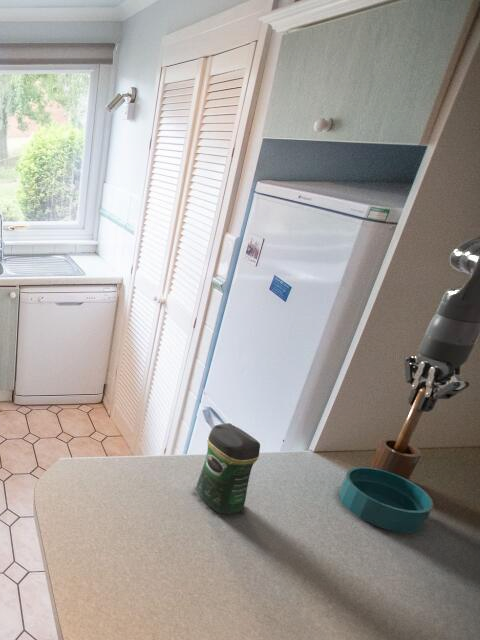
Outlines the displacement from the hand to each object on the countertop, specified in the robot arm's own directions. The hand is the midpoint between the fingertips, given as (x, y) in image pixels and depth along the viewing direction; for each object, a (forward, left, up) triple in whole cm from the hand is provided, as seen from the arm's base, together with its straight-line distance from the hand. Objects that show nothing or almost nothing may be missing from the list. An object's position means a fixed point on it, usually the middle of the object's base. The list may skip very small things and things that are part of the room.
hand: (418, 407), depth 102 cm
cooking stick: (0, 0, -19) cm, 19 cm away
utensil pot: (0, 0, -20) cm, 20 cm away
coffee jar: (+44, +10, -20) cm, 49 cm away
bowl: (+10, +11, -20) cm, 25 cm away
